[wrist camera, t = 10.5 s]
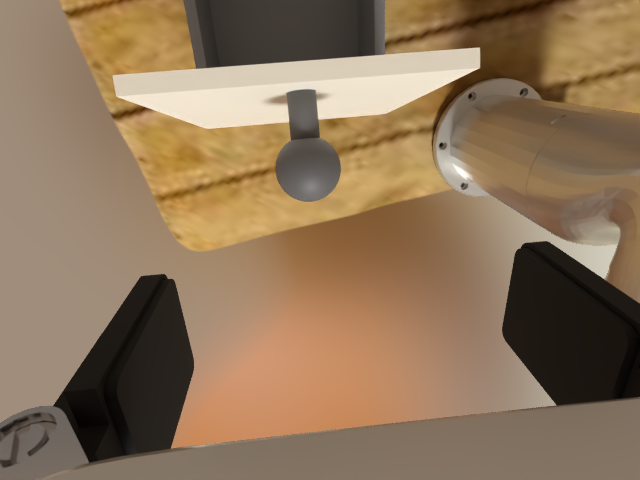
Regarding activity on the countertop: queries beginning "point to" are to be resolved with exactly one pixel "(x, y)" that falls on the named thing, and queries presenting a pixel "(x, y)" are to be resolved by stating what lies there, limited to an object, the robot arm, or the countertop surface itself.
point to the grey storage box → (283, 30)
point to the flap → (298, 101)
